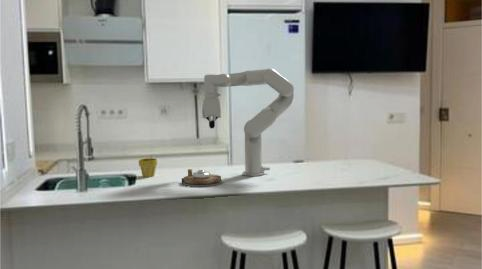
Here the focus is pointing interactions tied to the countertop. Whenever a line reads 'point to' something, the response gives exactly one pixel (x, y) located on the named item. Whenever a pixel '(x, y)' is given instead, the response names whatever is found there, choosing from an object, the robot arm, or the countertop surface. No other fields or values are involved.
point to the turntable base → (202, 185)
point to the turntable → (211, 180)
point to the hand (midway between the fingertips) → (212, 128)
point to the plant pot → (148, 166)
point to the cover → (201, 175)
